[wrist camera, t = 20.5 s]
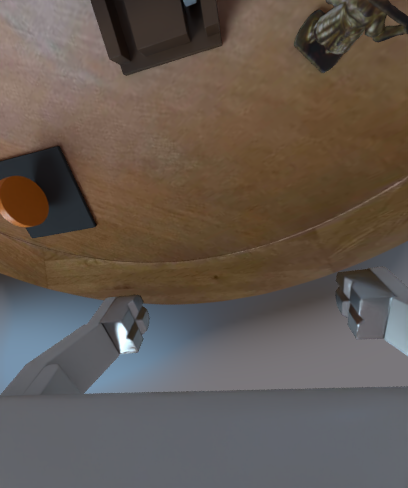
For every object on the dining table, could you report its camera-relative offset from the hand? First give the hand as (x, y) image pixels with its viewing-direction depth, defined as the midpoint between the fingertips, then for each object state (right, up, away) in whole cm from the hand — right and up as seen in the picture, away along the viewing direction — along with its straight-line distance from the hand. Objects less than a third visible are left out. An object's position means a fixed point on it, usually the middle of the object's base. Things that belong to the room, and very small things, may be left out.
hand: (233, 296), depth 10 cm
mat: (-29, +11, +31) cm, 44 cm away
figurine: (+13, +26, +18) cm, 34 cm away
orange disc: (-30, +9, +27) cm, 41 cm away
